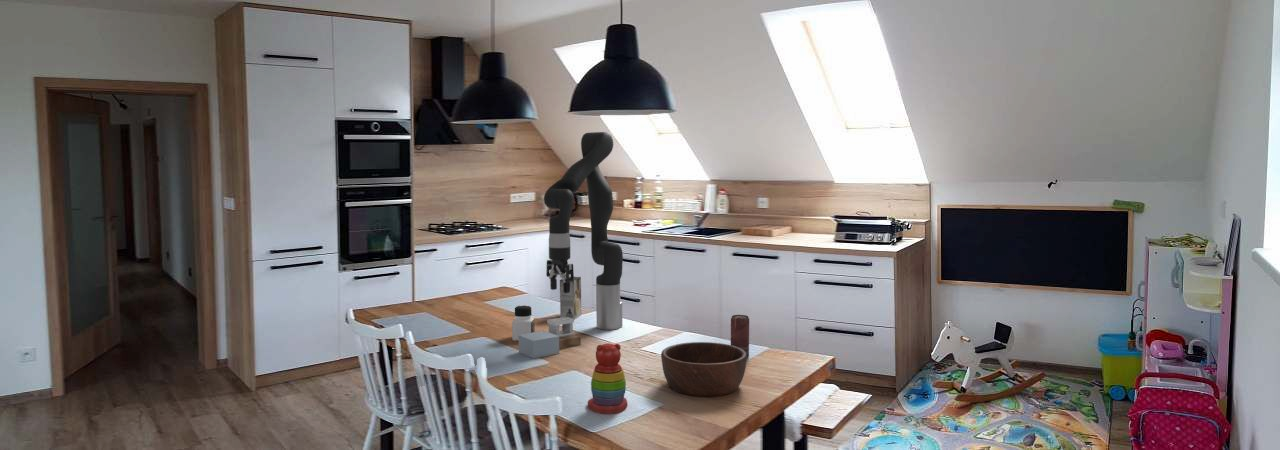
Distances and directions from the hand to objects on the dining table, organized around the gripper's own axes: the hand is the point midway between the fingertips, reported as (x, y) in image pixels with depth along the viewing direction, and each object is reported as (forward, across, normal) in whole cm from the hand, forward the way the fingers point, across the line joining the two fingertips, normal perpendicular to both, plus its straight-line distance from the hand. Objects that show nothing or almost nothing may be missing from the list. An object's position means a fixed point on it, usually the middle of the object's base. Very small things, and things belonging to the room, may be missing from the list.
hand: (560, 291), depth 276 cm
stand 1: (+19, -5, +12) cm, 23 cm away
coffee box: (+19, +35, -27) cm, 48 cm away
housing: (+16, 0, 0) cm, 16 cm away
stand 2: (+19, 0, 0) cm, 19 cm away
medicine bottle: (+19, +16, +6) cm, 26 cm away
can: (+19, -52, -37) cm, 67 cm away
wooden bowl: (+20, -67, -7) cm, 70 cm away
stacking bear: (+20, -65, +26) cm, 73 cm away
